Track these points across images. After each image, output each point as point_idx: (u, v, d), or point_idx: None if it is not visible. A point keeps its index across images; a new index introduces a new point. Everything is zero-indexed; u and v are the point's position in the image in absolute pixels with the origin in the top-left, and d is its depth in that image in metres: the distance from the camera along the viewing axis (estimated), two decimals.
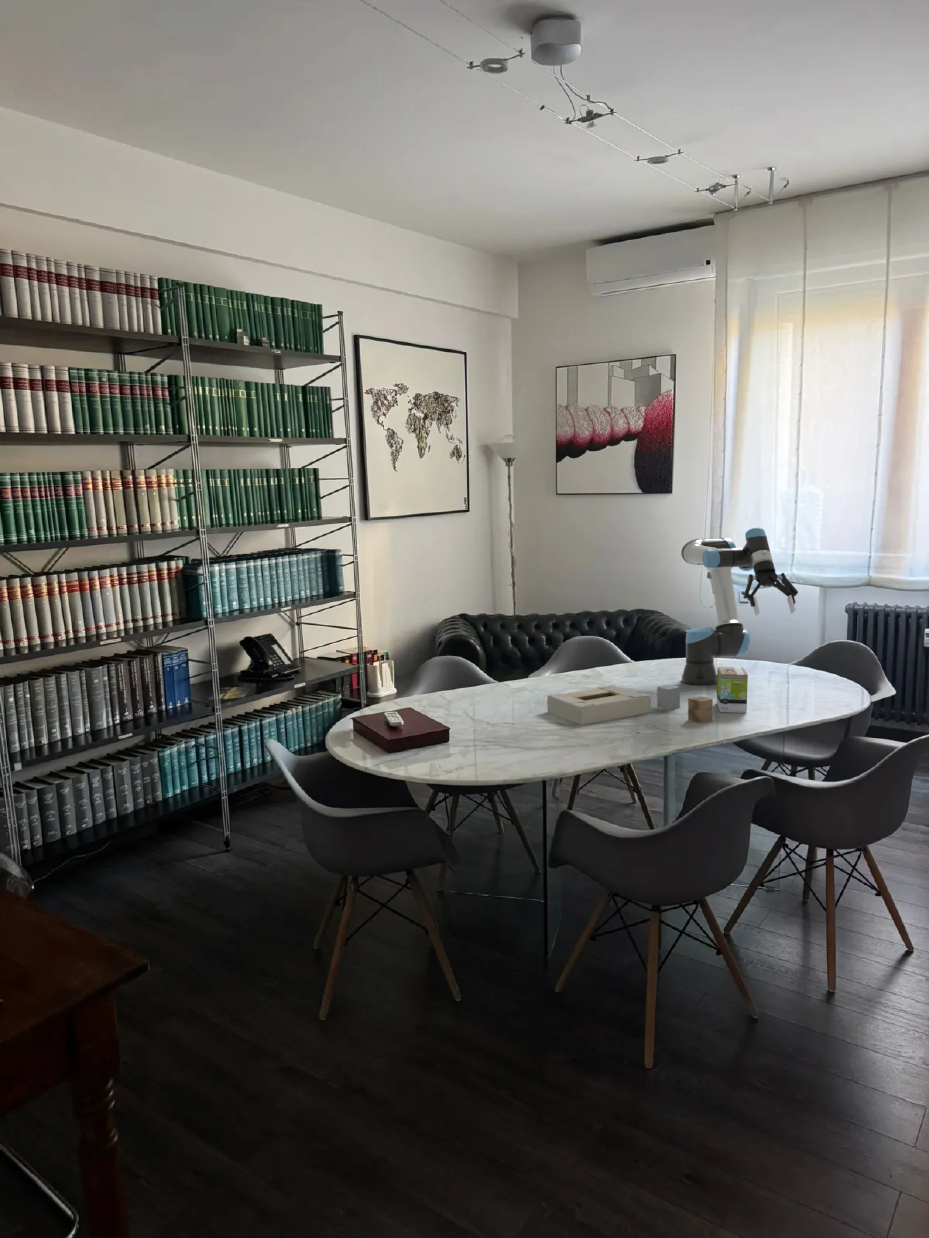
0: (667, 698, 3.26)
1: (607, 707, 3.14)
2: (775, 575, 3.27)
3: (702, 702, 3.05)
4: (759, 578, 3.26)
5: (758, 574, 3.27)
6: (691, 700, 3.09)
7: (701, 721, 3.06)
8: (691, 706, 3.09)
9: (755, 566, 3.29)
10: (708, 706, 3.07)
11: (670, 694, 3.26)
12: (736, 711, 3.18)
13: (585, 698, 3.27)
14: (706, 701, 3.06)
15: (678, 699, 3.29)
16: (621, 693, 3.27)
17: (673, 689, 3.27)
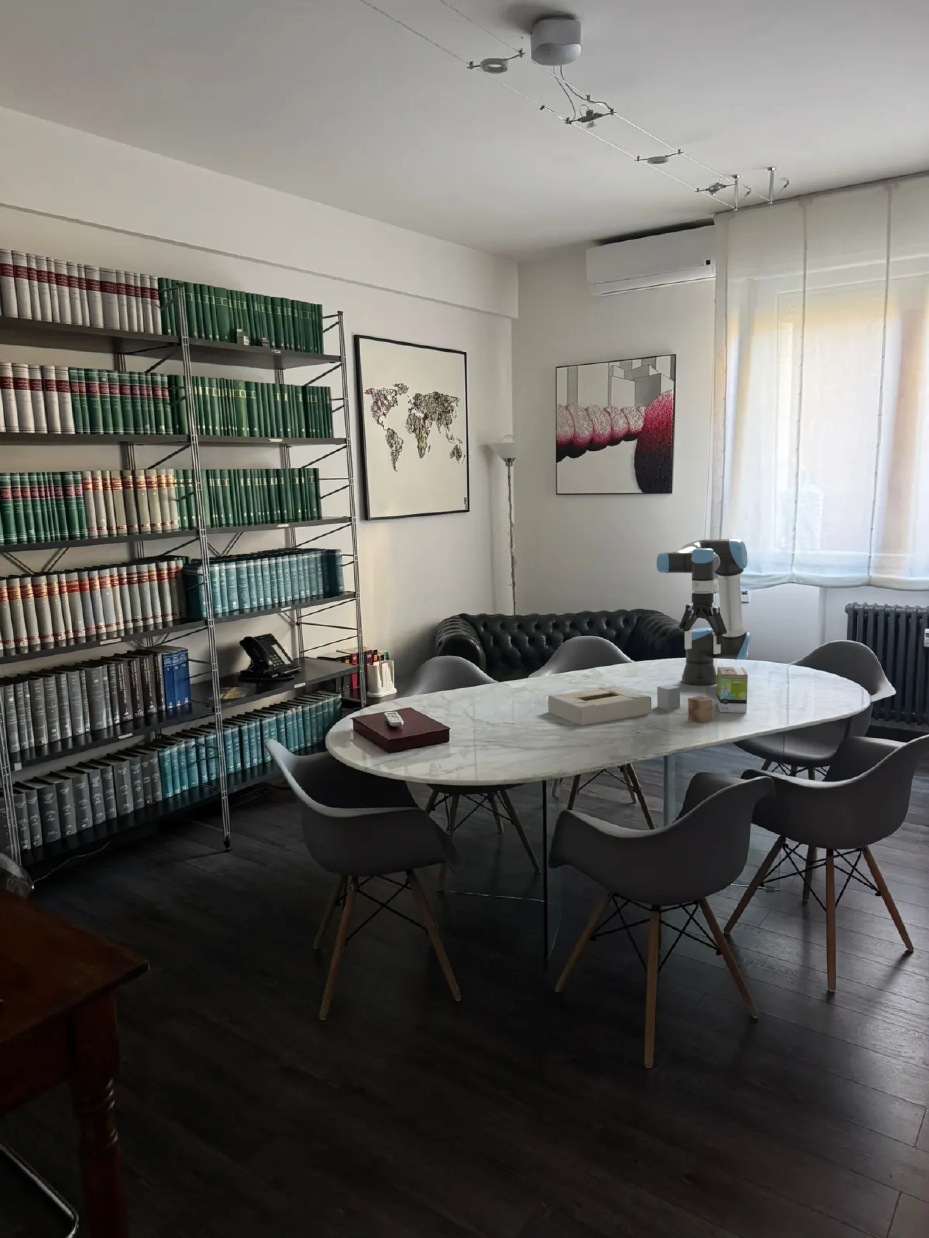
0: (667, 698, 3.26)
1: (607, 707, 3.13)
2: (707, 609, 3.01)
3: (702, 702, 3.05)
4: (693, 610, 3.07)
5: (693, 605, 3.07)
6: (691, 700, 3.09)
7: (701, 721, 3.06)
8: (691, 706, 3.09)
9: None
10: (708, 706, 3.07)
11: (670, 694, 3.26)
12: (736, 711, 3.18)
13: (586, 698, 3.26)
14: (706, 701, 3.06)
15: (678, 699, 3.29)
16: (622, 694, 3.26)
17: (673, 689, 3.27)
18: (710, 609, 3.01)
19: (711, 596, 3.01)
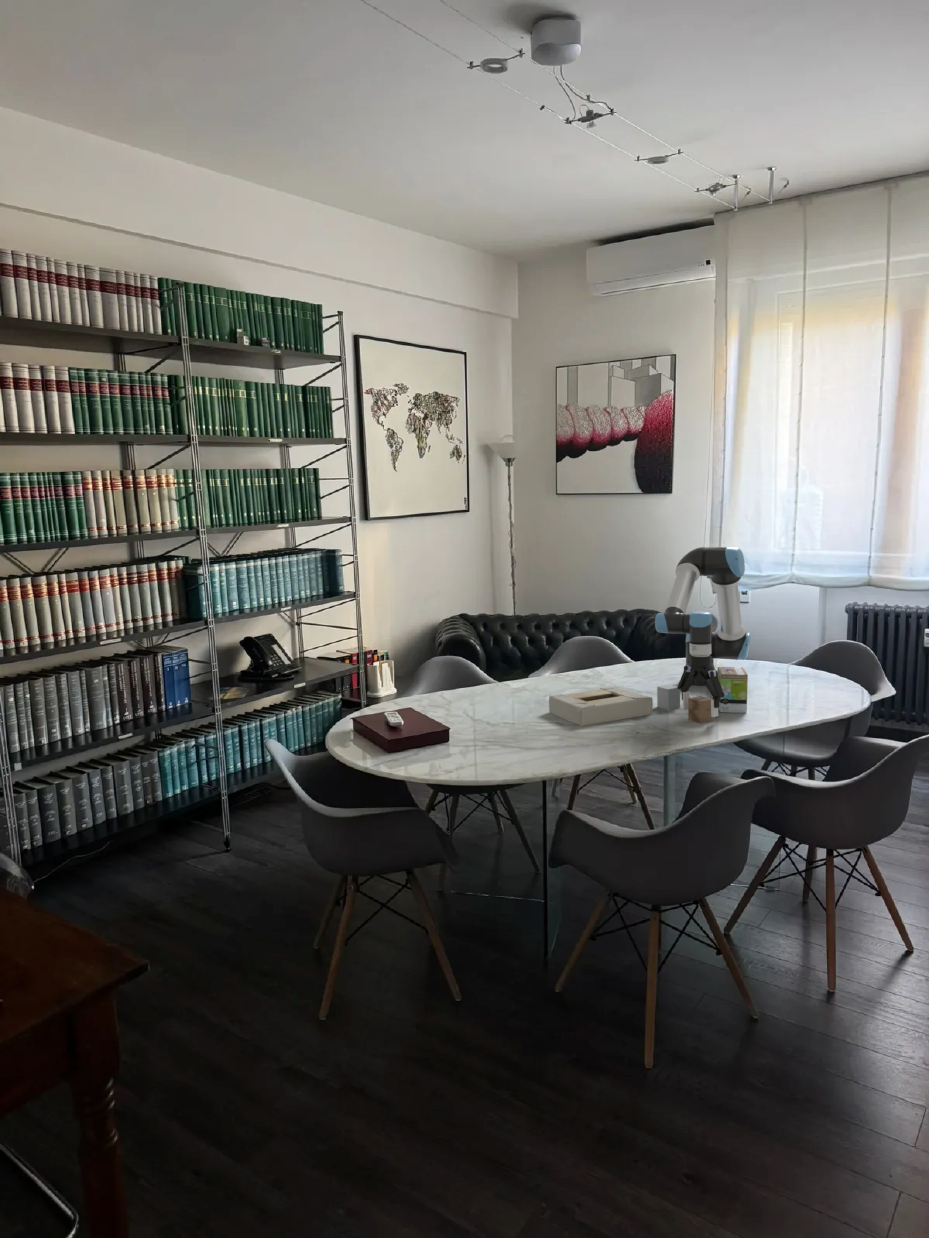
0: (667, 698, 3.26)
1: (608, 708, 3.12)
2: (704, 672, 3.04)
3: (702, 702, 3.05)
4: (691, 672, 3.10)
5: (691, 667, 3.10)
6: (691, 700, 3.09)
7: (701, 721, 3.06)
8: (691, 706, 3.09)
9: None
10: (708, 706, 3.07)
11: (670, 694, 3.26)
12: (736, 711, 3.18)
13: (587, 699, 3.25)
14: (706, 701, 3.06)
15: (678, 699, 3.29)
16: (623, 694, 3.25)
17: (673, 689, 3.27)
18: (708, 672, 3.04)
19: (709, 659, 3.04)
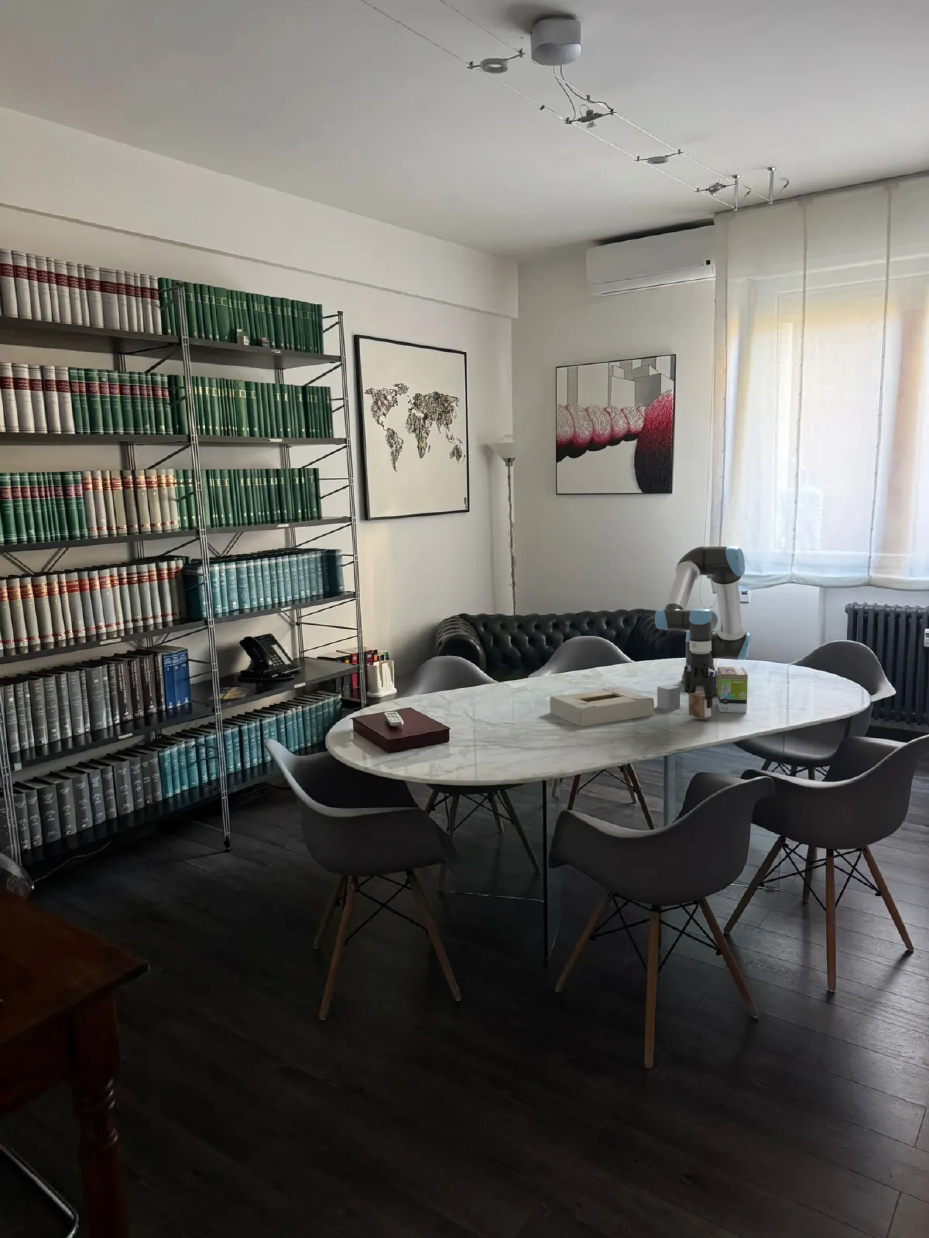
0: (667, 698, 3.26)
1: (608, 709, 3.11)
2: (704, 669, 3.04)
3: (702, 698, 3.05)
4: (691, 669, 3.10)
5: (691, 664, 3.10)
6: (691, 695, 3.09)
7: (702, 716, 3.06)
8: (692, 701, 3.09)
9: None
10: None
11: (670, 694, 3.26)
12: (736, 711, 3.18)
13: (588, 700, 3.24)
14: None
15: (678, 699, 3.29)
16: (625, 695, 3.24)
17: (673, 689, 3.27)
18: (708, 669, 3.04)
19: (709, 656, 3.04)
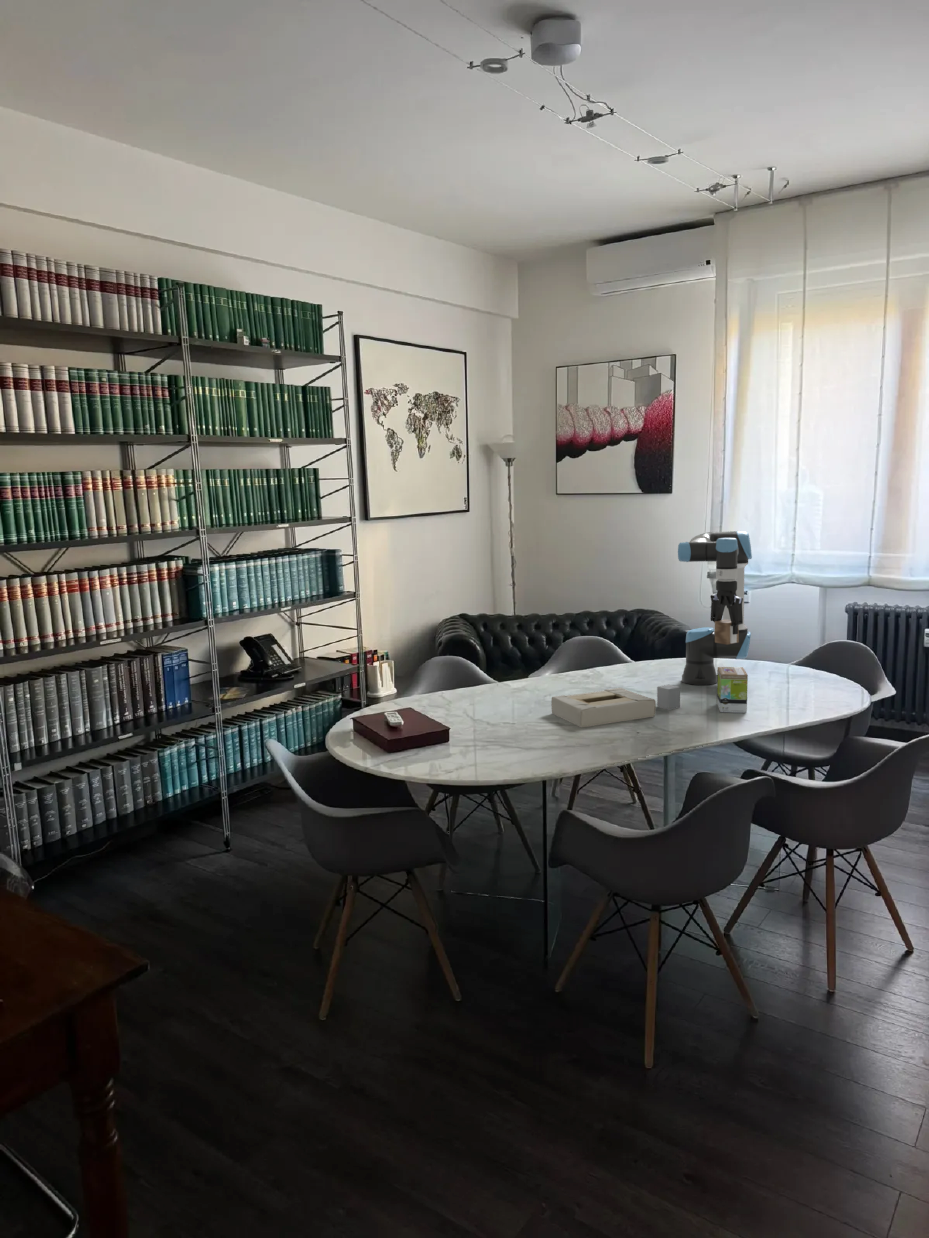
0: (667, 698, 3.26)
1: (609, 710, 3.10)
2: (731, 596, 3.13)
3: (728, 624, 3.15)
4: (717, 597, 3.19)
5: (717, 593, 3.19)
6: (718, 623, 3.18)
7: (728, 642, 3.15)
8: (718, 629, 3.18)
9: None
10: None
11: (670, 694, 3.26)
12: (736, 711, 3.18)
13: (589, 700, 3.23)
14: None
15: (678, 699, 3.29)
16: (626, 696, 3.22)
17: (673, 689, 3.27)
18: (734, 596, 3.13)
19: (735, 584, 3.13)
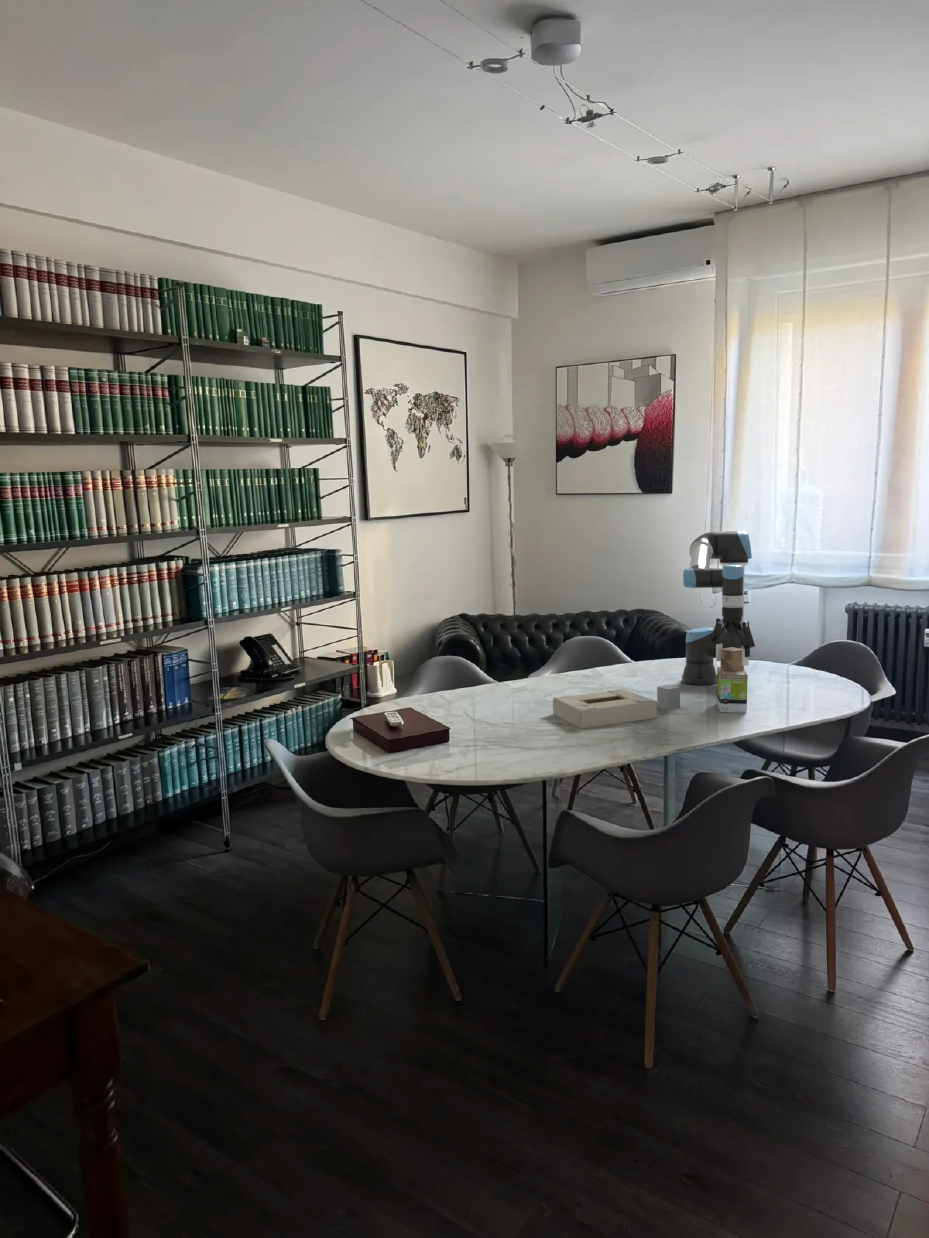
0: (667, 698, 3.26)
1: (609, 711, 3.08)
2: (736, 622, 3.18)
3: (734, 652, 3.19)
4: (723, 623, 3.23)
5: (723, 619, 3.23)
6: (723, 650, 3.22)
7: (733, 670, 3.20)
8: (723, 656, 3.22)
9: None
10: (740, 655, 3.21)
11: (670, 694, 3.26)
12: (736, 711, 3.18)
13: (591, 701, 3.21)
14: (738, 651, 3.20)
15: (678, 699, 3.29)
16: (628, 697, 3.20)
17: (673, 689, 3.27)
18: (740, 622, 3.17)
19: (741, 610, 3.17)
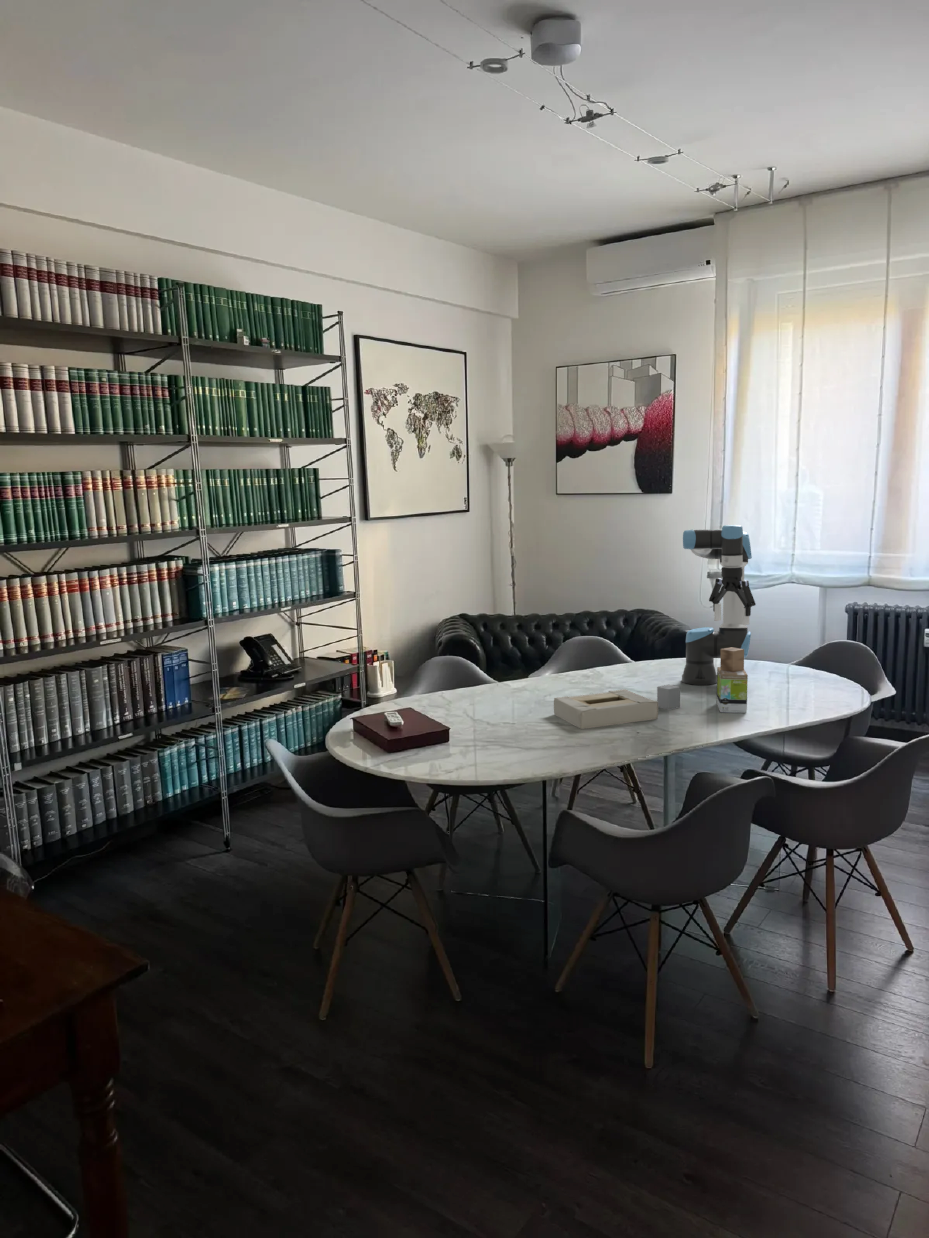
0: (667, 698, 3.26)
1: (610, 712, 3.07)
2: (736, 582, 3.18)
3: (734, 652, 3.19)
4: (723, 584, 3.23)
5: (723, 579, 3.23)
6: (723, 650, 3.22)
7: (733, 670, 3.20)
8: (723, 656, 3.22)
9: None
10: (739, 655, 3.21)
11: (670, 694, 3.26)
12: (736, 711, 3.18)
13: (592, 702, 3.21)
14: (738, 651, 3.20)
15: (678, 699, 3.29)
16: (629, 698, 3.19)
17: (673, 689, 3.27)
18: (739, 582, 3.17)
19: (740, 570, 3.17)
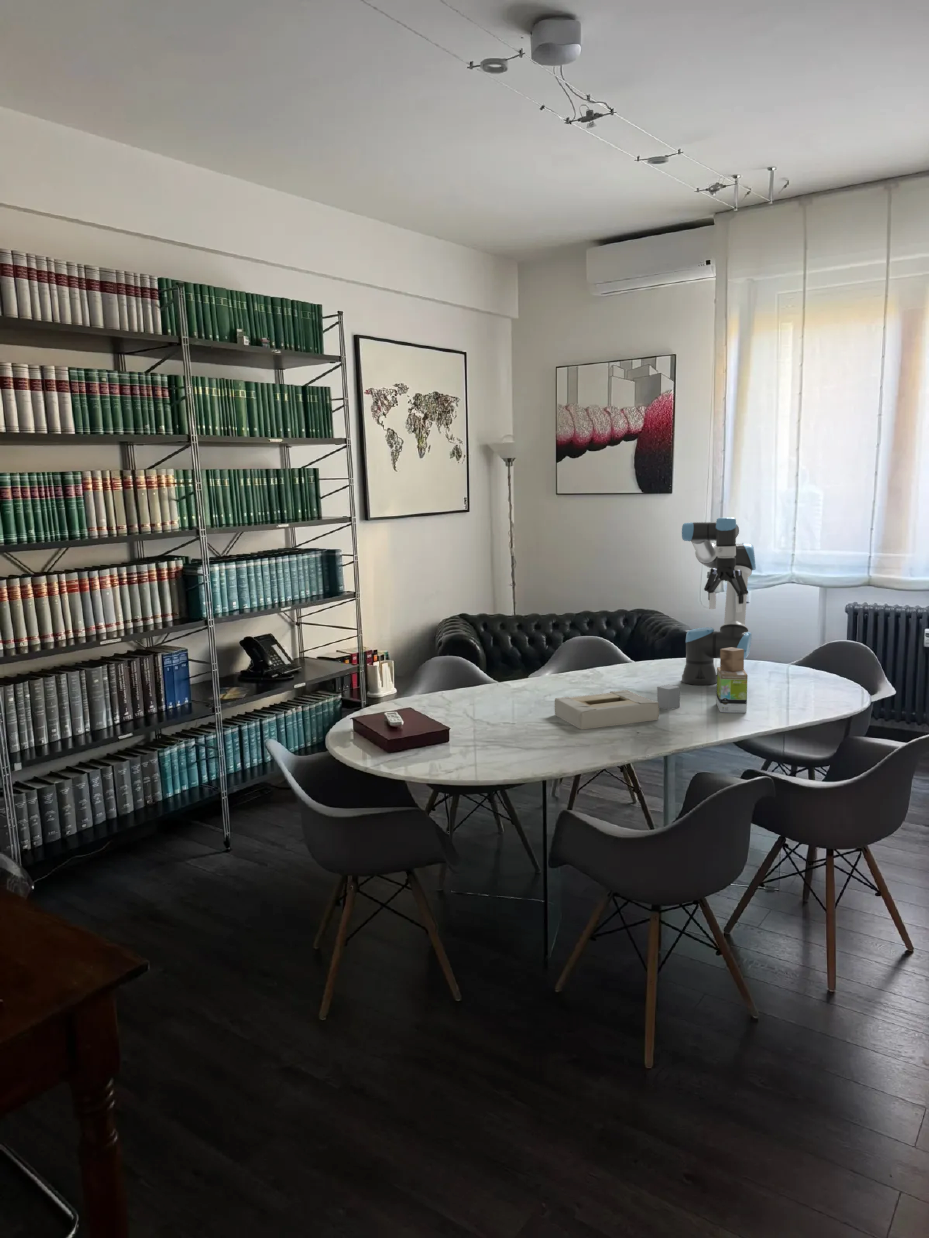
0: (667, 698, 3.26)
1: (610, 712, 3.06)
2: (730, 572, 3.35)
3: (734, 652, 3.19)
4: (717, 573, 3.40)
5: (717, 569, 3.40)
6: (723, 650, 3.22)
7: (733, 670, 3.20)
8: (723, 656, 3.22)
9: None
10: (739, 656, 3.21)
11: (670, 694, 3.26)
12: (736, 711, 3.18)
13: (593, 702, 3.20)
14: (738, 651, 3.20)
15: (678, 699, 3.29)
16: (630, 698, 3.18)
17: (673, 689, 3.27)
18: (733, 572, 3.34)
19: (734, 560, 3.34)
